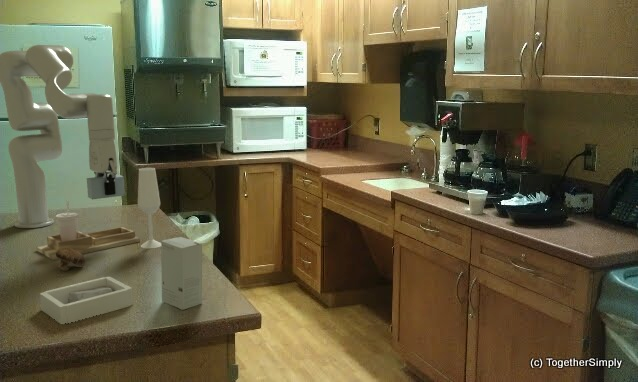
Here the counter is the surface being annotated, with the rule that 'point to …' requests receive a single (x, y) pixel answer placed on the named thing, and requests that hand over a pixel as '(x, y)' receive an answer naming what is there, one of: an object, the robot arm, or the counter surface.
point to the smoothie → (67, 224)
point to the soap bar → (88, 293)
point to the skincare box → (181, 272)
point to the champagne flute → (148, 200)
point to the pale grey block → (98, 189)
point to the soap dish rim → (85, 300)
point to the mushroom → (70, 258)
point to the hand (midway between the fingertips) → (106, 192)
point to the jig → (89, 241)
